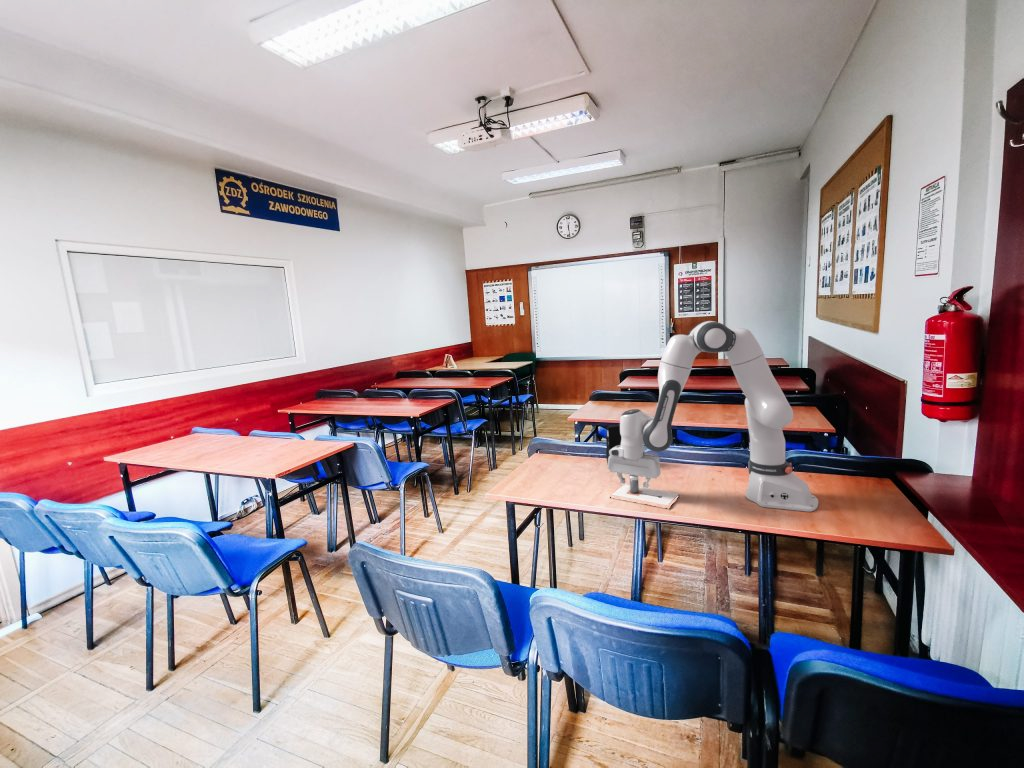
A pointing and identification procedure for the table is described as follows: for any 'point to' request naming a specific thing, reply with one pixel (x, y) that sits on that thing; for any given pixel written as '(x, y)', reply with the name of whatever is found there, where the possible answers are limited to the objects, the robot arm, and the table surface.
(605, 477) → the table surface
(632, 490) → the white-topped grey cylinder
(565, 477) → the table surface
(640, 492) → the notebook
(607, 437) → the handheld gaming console
